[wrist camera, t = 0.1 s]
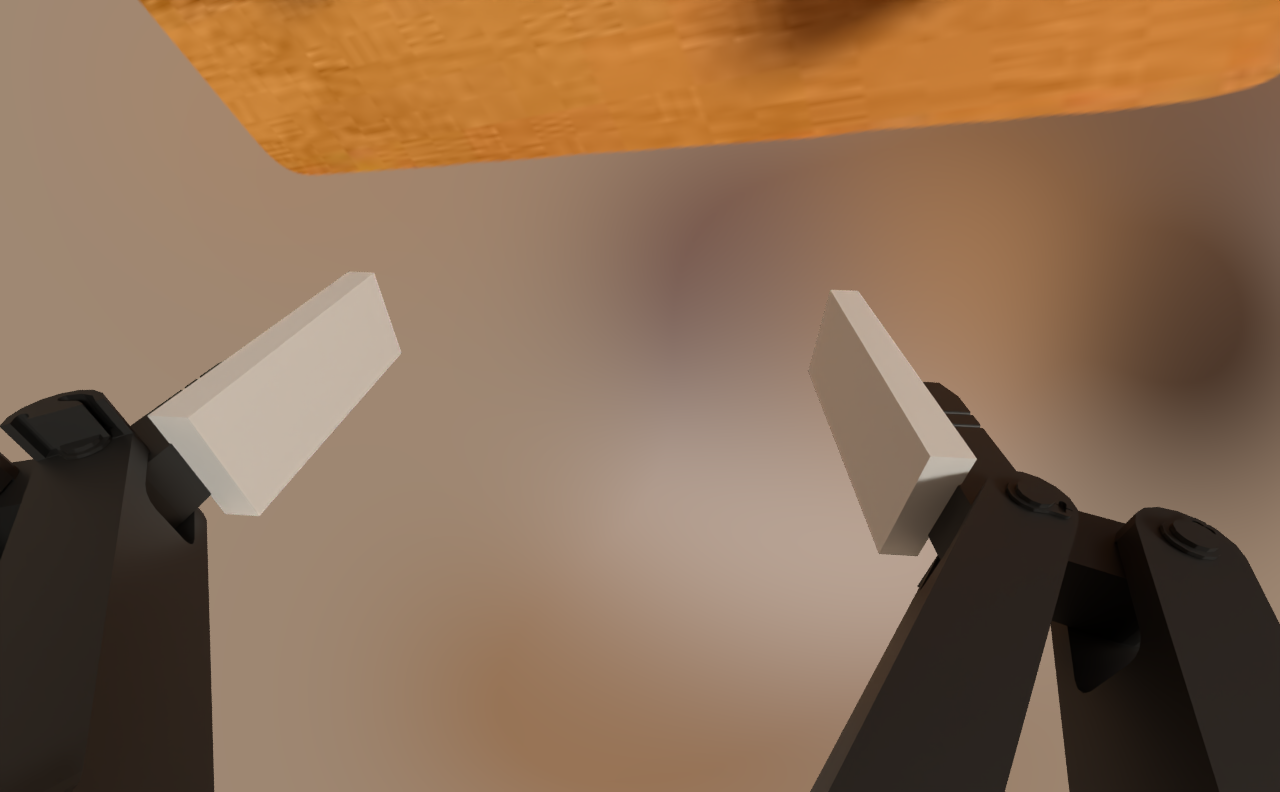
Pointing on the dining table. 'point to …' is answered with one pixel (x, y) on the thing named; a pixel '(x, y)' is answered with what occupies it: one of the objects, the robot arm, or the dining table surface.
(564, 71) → the dining table surface
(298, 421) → the robot arm
